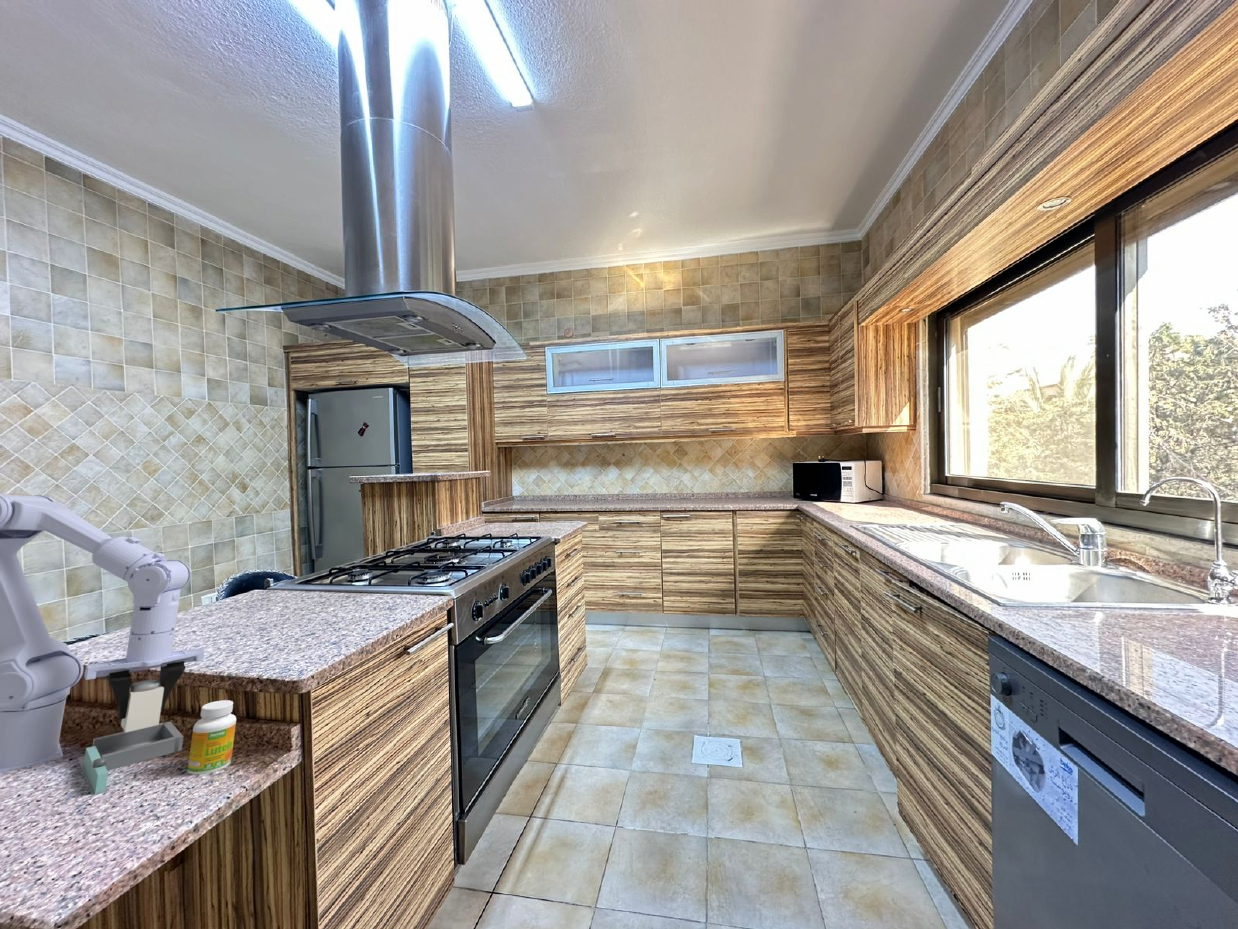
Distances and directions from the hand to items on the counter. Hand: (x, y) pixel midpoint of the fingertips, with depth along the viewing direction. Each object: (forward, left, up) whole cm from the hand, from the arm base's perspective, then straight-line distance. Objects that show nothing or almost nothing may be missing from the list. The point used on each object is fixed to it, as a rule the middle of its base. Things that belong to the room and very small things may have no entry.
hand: (140, 713), depth 80 cm
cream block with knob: (0, 0, -2) cm, 2 cm away
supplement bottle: (+15, +6, -7) cm, 18 cm away
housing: (+4, -1, -6) cm, 8 cm away
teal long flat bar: (+6, -5, -6) cm, 10 cm away
